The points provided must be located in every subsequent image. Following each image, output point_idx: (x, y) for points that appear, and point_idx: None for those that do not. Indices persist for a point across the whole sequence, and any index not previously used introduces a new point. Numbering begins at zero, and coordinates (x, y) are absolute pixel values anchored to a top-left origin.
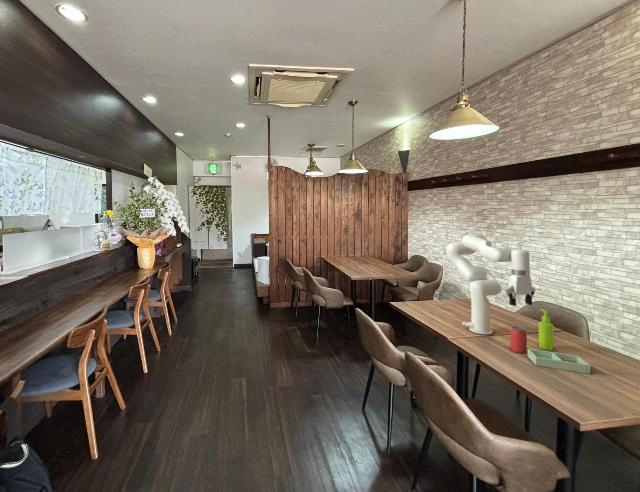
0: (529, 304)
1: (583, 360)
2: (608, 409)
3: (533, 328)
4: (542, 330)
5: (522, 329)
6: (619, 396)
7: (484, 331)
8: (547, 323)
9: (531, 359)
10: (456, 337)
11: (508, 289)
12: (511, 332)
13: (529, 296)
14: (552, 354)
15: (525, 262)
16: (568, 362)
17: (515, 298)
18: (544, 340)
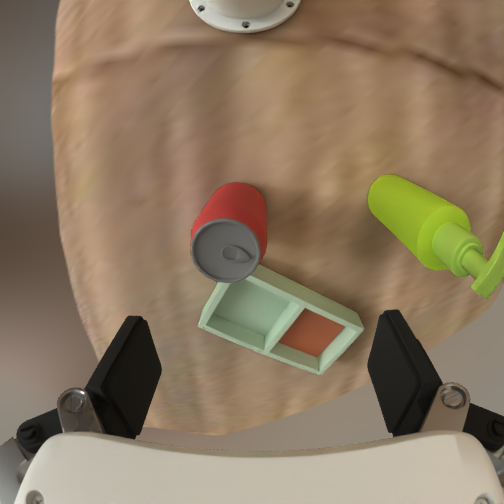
0: (369, 356)
1: (339, 354)
2: (201, 424)
3: (497, 52)
4: (401, 231)
5: (246, 259)
6: (267, 412)
7: (232, 17)
8: (438, 259)
9: (217, 284)
10: (76, 70)
11: (10, 498)
12: (191, 231)
13: (406, 434)
14: (294, 307)
15: None
16: (277, 359)
17: (131, 438)
18: (383, 221)
